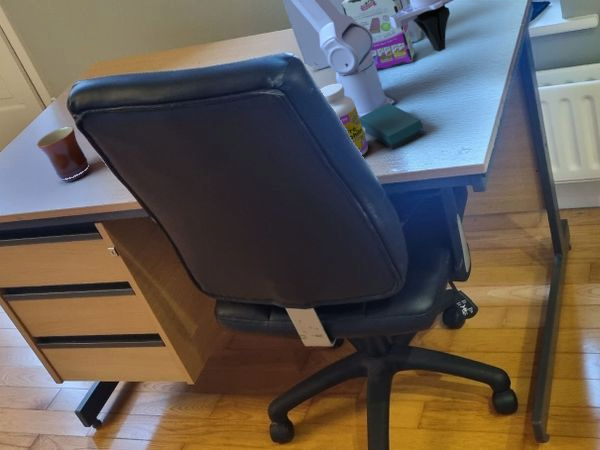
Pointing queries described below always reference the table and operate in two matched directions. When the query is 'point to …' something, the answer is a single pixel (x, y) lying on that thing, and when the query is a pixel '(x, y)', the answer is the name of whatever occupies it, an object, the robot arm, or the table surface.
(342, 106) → the supplement bottle
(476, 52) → the table surface
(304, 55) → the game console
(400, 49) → the candy bar box
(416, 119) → the teal flat panel
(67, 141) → the mug
